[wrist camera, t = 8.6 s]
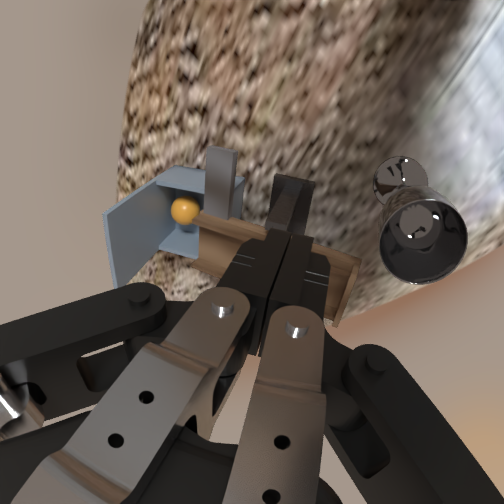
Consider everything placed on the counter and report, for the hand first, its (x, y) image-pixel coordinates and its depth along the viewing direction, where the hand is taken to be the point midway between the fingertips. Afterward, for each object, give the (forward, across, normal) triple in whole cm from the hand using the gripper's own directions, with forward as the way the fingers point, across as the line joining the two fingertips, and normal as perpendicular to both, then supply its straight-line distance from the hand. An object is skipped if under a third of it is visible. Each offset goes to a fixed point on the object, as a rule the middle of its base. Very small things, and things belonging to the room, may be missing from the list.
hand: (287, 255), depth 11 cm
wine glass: (+29, -10, +5) cm, 31 cm away
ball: (+26, +16, +14) cm, 34 cm away
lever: (+20, +3, +10) cm, 23 cm away
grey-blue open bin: (+29, +14, +14) cm, 35 cm away
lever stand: (+29, +3, +14) cm, 32 cm away
